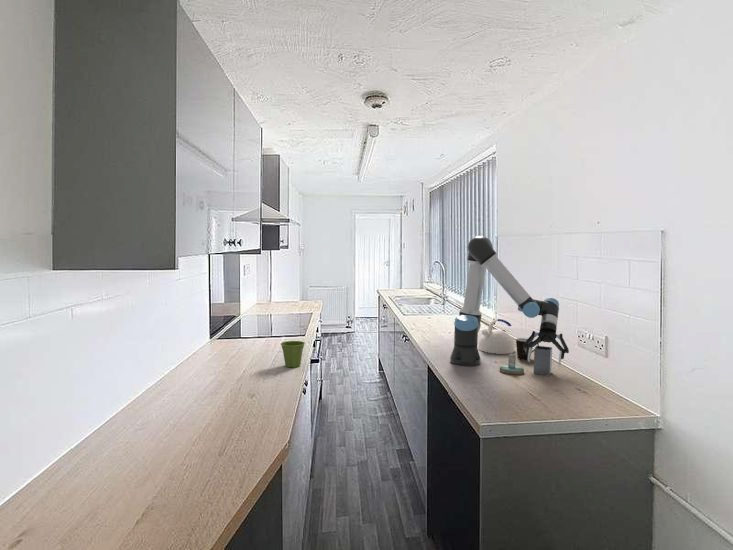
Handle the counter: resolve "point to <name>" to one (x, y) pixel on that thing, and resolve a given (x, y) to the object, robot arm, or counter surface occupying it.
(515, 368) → the post stand
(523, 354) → the coffee mug
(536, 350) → the grey square holder
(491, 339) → the kettle
